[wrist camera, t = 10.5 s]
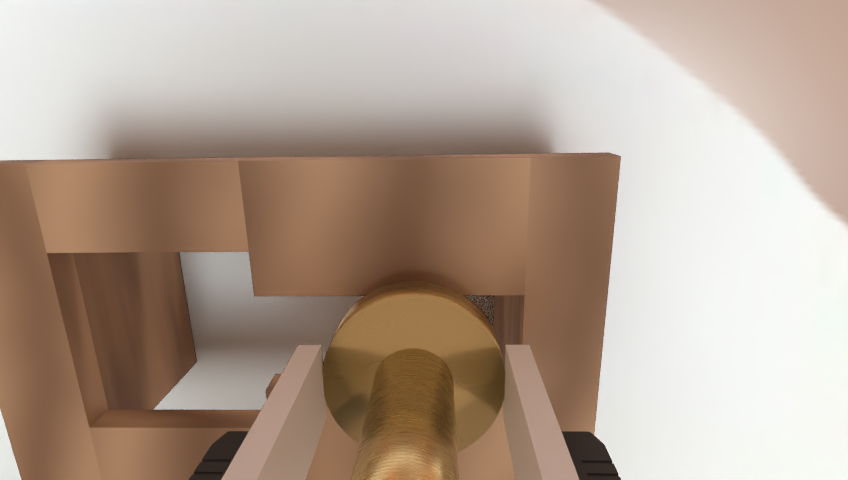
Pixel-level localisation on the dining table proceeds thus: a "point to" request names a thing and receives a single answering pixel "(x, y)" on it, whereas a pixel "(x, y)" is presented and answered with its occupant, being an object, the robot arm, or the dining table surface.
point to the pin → (413, 380)
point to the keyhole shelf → (278, 285)
